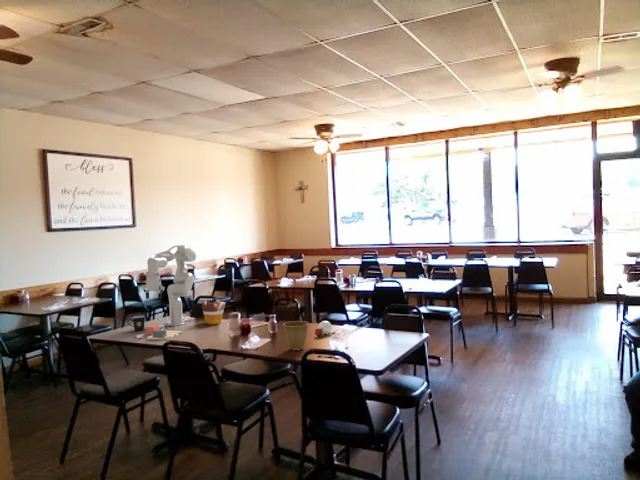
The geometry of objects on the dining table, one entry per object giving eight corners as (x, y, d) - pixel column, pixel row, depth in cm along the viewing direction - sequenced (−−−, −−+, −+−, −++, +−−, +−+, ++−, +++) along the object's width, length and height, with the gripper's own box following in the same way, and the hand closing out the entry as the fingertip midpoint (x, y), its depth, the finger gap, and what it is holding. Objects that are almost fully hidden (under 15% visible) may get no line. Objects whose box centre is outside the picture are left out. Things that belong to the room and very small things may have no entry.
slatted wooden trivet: (162, 332, 360) (162, 330, 360) (182, 333, 357) (182, 331, 357) (146, 339, 341) (146, 337, 340) (168, 340, 337) (168, 337, 337)
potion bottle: (330, 334, 345) (321, 342, 332) (319, 326, 348) (309, 333, 335) (336, 324, 342) (327, 332, 329) (325, 316, 344) (316, 323, 331)
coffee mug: (147, 328, 375) (146, 315, 374) (142, 331, 366) (141, 318, 366) (132, 329, 376) (132, 315, 376) (127, 331, 367) (126, 318, 367)
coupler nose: (156, 335, 344) (155, 330, 344) (166, 335, 343) (166, 330, 343) (152, 337, 341) (152, 331, 340) (163, 337, 339) (163, 331, 339)
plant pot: (289, 345, 312) (288, 320, 312) (311, 346, 308) (311, 321, 307) (280, 352, 298) (279, 325, 297) (304, 353, 294) (303, 326, 293)
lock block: (152, 332, 362) (151, 324, 362) (159, 332, 361) (159, 324, 360) (146, 335, 354) (145, 327, 354) (153, 335, 353) (153, 327, 352)
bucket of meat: (210, 320, 401) (209, 295, 400) (228, 320, 396) (227, 296, 396) (197, 325, 381) (196, 299, 381) (217, 326, 377) (216, 300, 376)
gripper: (166, 274, 360) (167, 298, 360) (145, 274, 364) (145, 298, 364) (161, 275, 353) (161, 299, 353) (139, 275, 356) (139, 299, 356)
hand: (153, 298), depth 358 cm, fingers open, 9 cm apart
